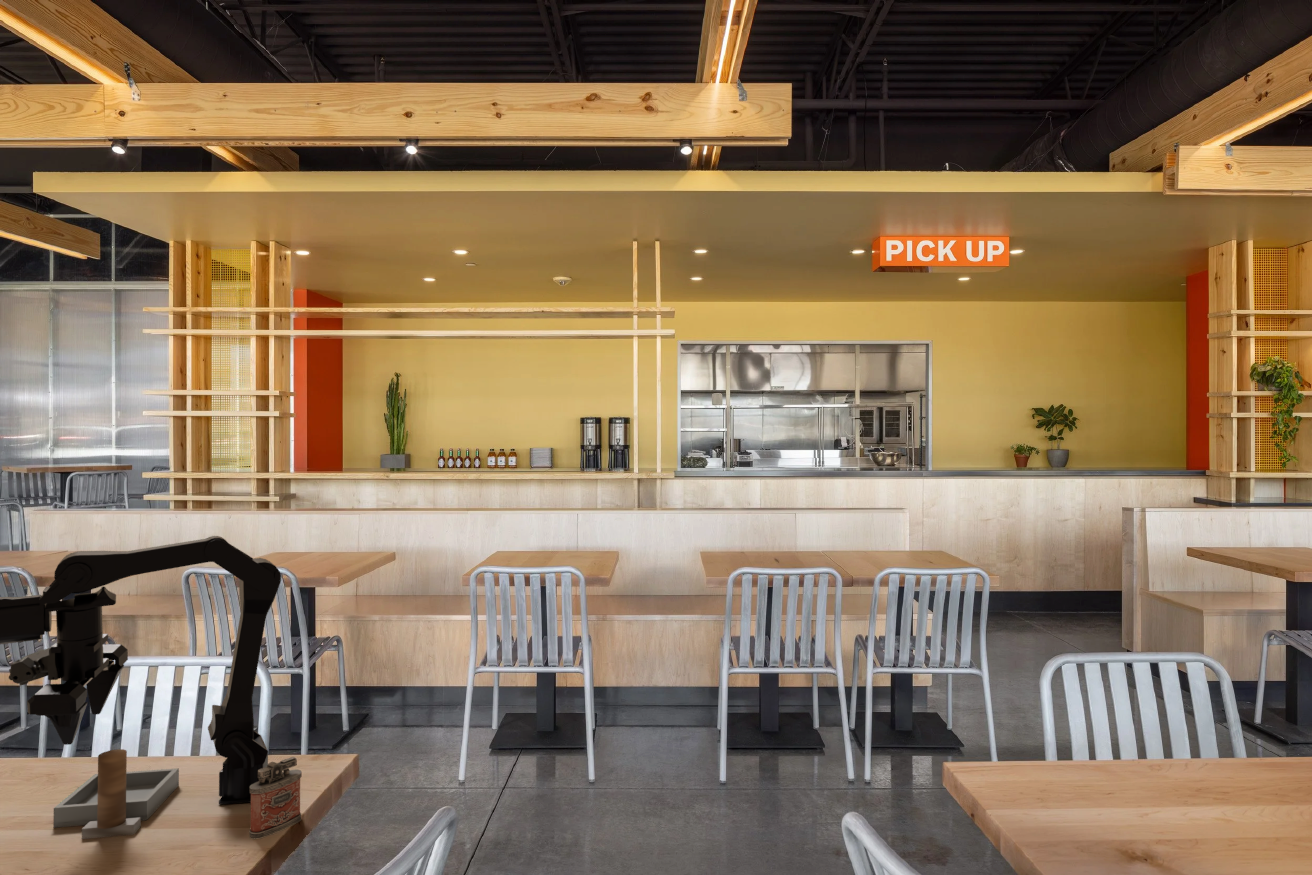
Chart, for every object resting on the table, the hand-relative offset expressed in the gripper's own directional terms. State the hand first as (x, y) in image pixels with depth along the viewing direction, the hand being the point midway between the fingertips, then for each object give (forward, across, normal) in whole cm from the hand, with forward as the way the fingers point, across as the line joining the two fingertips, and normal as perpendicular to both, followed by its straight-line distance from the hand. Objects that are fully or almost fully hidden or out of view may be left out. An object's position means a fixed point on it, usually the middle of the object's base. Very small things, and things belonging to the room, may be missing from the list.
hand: (82, 728), depth 125 cm
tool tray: (+15, -3, +4) cm, 16 cm away
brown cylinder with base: (+13, +7, +7) cm, 17 cm away
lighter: (+12, +11, +30) cm, 34 cm away
